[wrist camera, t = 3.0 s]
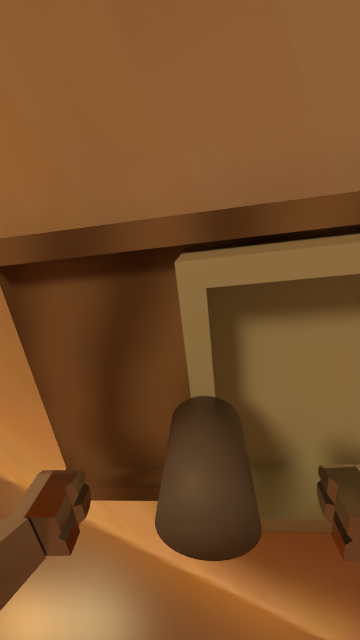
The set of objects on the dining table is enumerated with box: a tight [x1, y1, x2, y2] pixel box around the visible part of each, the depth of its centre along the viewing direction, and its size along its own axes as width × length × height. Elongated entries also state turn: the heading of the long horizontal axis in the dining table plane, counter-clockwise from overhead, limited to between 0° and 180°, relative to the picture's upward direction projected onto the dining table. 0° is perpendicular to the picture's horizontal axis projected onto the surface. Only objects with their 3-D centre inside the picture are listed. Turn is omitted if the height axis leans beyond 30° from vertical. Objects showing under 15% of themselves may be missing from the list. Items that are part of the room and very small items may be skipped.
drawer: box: [155, 232, 360, 561], centre depth 10 cm, size 15×14×8 cm
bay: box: [0, 191, 360, 501], centre depth 13 cm, size 26×17×4 cm, turn 97°
